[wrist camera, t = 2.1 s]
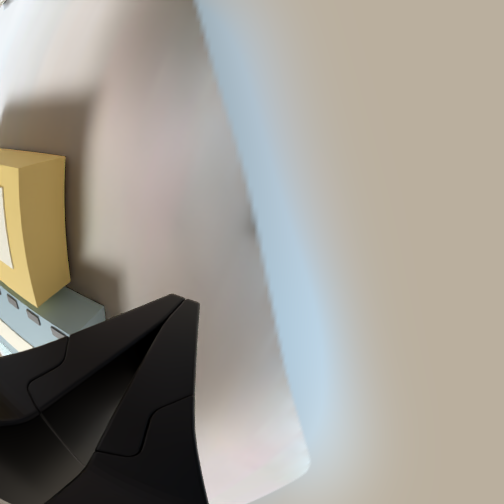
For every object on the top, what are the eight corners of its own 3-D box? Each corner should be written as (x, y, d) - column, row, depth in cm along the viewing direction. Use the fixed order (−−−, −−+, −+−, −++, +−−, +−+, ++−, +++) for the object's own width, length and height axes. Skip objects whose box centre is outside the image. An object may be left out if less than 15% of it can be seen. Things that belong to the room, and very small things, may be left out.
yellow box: (70, 281, 11) (36, 308, 9) (-2, 239, 12) (-30, 255, 9) (65, 156, 9) (17, 169, 6) (-9, 147, 9) (-41, 157, 7)
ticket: (119, 391, 15) (101, 418, 12) (1, 310, 16) (-17, 326, 13) (103, 306, 12) (71, 338, 9) (-19, 233, 13) (-43, 247, 10)
